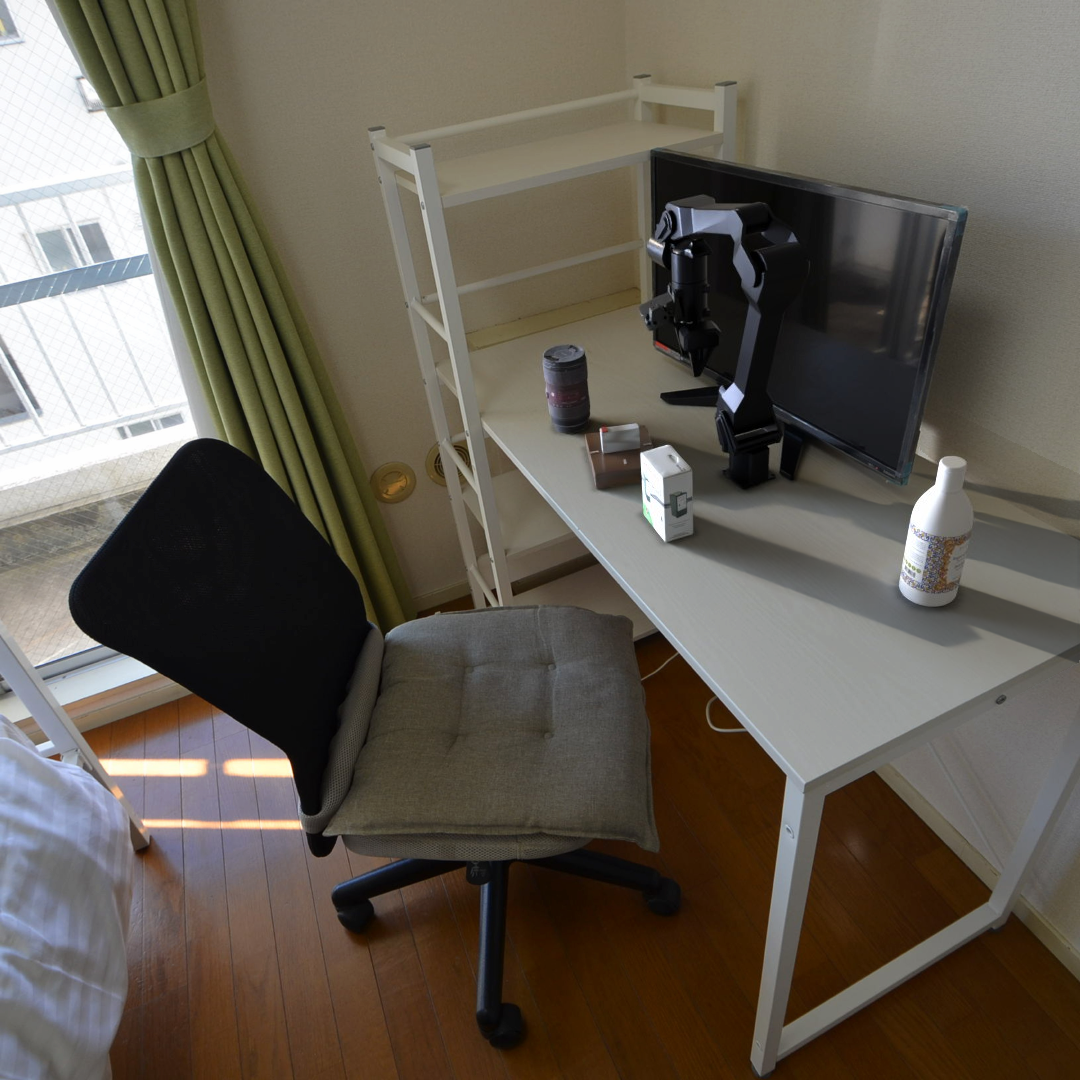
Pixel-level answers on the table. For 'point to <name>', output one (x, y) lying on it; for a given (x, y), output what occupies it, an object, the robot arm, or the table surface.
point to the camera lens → (567, 387)
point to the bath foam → (938, 538)
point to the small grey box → (620, 438)
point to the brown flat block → (616, 461)
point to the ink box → (667, 492)
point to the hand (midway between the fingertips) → (690, 365)
